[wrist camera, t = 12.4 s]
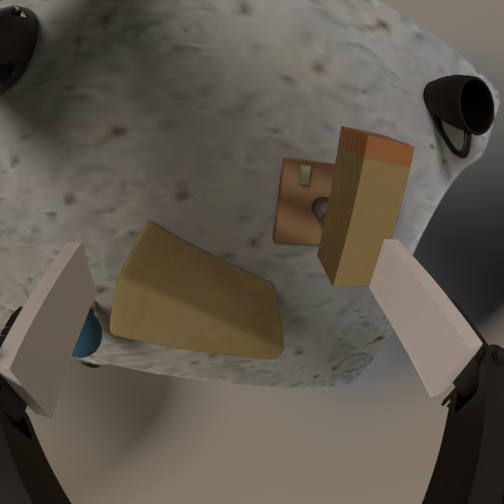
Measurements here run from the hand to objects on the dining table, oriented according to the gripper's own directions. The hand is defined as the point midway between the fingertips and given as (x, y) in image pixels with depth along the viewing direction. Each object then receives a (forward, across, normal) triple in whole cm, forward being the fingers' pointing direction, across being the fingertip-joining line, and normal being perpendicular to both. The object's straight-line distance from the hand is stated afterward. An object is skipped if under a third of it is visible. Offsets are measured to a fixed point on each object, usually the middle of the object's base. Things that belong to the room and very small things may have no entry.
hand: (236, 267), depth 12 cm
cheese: (+27, -2, -19) cm, 33 cm away
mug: (+27, +31, +9) cm, 42 cm away
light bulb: (+27, -24, -27) cm, 45 cm away
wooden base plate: (+27, +14, -8) cm, 31 cm away
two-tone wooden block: (+20, +14, -3) cm, 25 cm away
